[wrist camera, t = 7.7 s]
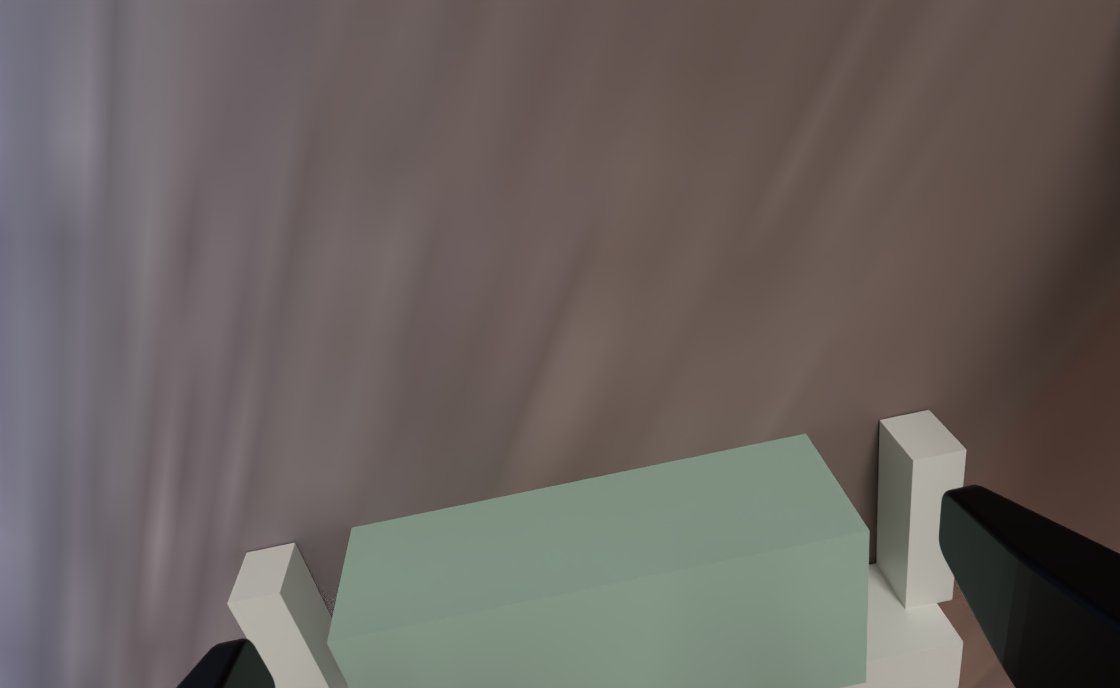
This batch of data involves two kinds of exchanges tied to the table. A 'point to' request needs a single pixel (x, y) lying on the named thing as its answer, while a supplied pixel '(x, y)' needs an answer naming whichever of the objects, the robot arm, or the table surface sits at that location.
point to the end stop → (893, 582)
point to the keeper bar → (619, 583)
